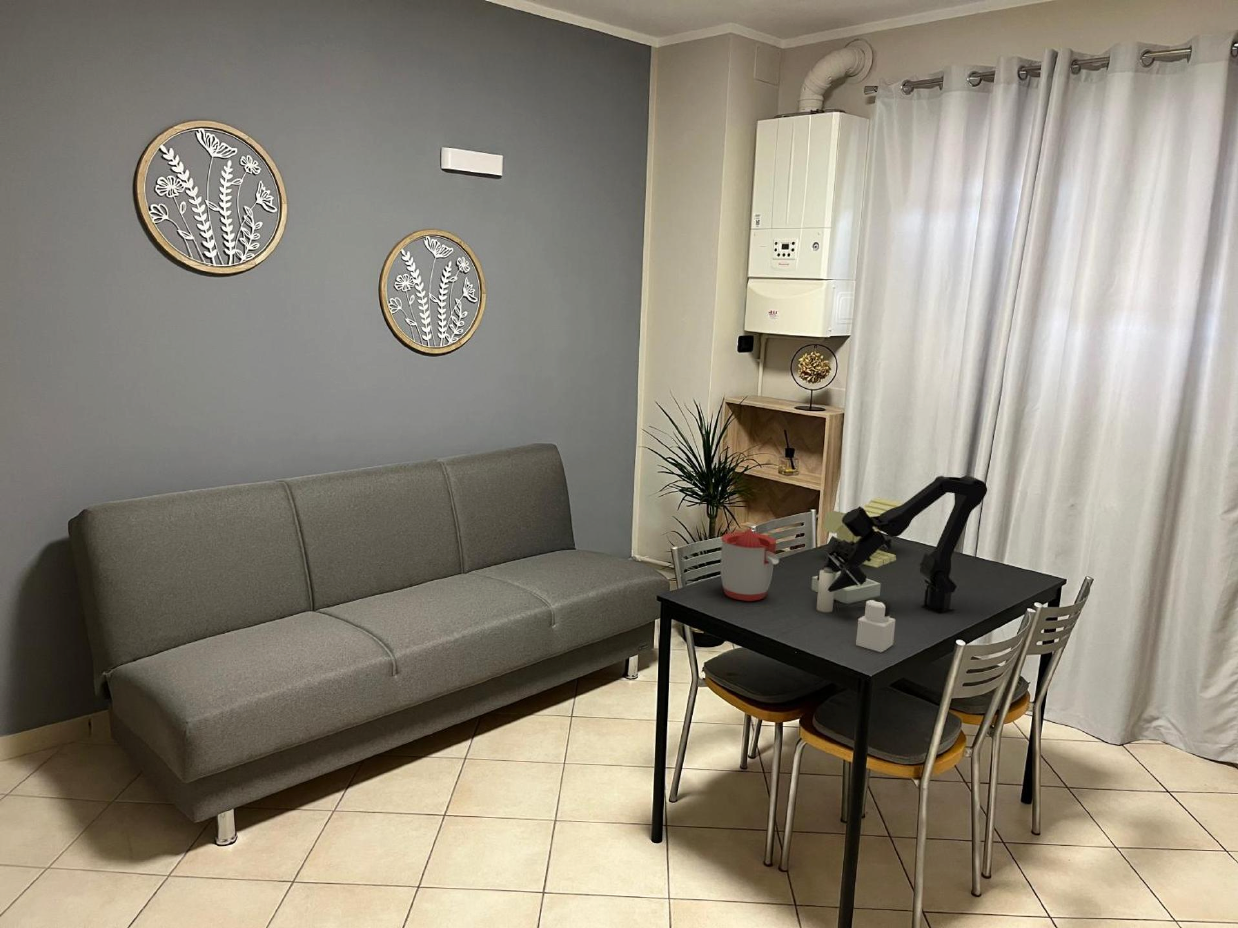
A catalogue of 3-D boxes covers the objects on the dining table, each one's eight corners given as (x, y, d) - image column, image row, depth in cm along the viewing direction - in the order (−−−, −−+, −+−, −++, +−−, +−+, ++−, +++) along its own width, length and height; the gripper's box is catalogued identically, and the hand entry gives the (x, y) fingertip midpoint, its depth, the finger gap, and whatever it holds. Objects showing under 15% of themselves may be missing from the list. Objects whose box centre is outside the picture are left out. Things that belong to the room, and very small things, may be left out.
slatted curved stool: (866, 544, 329) (871, 495, 325) (908, 555, 318) (913, 504, 314) (820, 560, 307) (825, 508, 304) (863, 572, 296) (868, 518, 293)
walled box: (879, 596, 274) (880, 583, 273) (846, 604, 266) (847, 590, 265) (843, 582, 285) (845, 570, 284) (811, 589, 278) (812, 576, 277)
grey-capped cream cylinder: (835, 610, 261) (839, 569, 258) (824, 613, 258) (828, 571, 256) (824, 605, 264) (827, 565, 262) (813, 608, 262) (816, 567, 259)
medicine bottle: (867, 637, 241) (871, 593, 239) (893, 645, 237) (897, 600, 235) (855, 645, 236) (859, 600, 234) (881, 653, 232) (886, 607, 229)
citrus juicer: (760, 609, 259) (765, 541, 255) (707, 595, 269) (711, 528, 265) (786, 596, 271) (791, 530, 267) (735, 582, 281) (739, 519, 277)
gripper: (835, 519, 266) (795, 555, 267) (859, 537, 248) (816, 576, 249) (859, 545, 269) (819, 581, 269) (884, 565, 251) (841, 604, 251)
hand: (823, 585), depth 260 cm, fingers open, 9 cm apart
